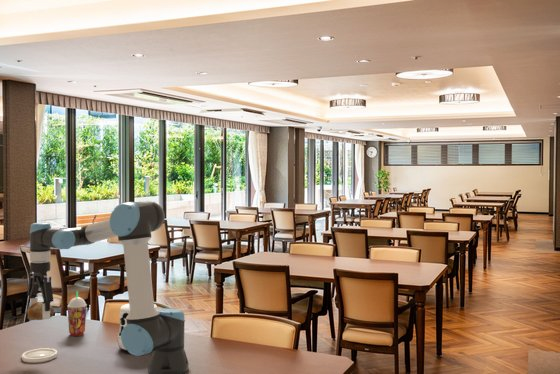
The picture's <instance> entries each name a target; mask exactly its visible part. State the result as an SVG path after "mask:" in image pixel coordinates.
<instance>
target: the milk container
mask: <svg viewBox="0 0 560 374" xmlns="http://www.w3.org/2000/svg"><path fill="white" fill-rule="evenodd" d="M154 308H155V309H158V305H157V304H155V303H154ZM129 313H130V306H129V303H125V304H123V305H121V307H120V308H119V330H118V333H117V339H116V340H117V344H118V345H117V346H118V347H119V349H121V350H122V351H124V352H128V350H126V349H125V347H124V346H123V343H122V340H121V332H122V330H123V328H124V327H125V326H126V325H127V321H126V317H127V316H128V314H129Z"/></svg>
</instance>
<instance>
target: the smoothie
mask: <svg viewBox="0 0 560 374" xmlns="http://www.w3.org/2000/svg"><path fill="white" fill-rule="evenodd" d="M75 294H76V296H75V297H72V298H71V299H70V300H69V302H68V304H67V318H68V319H67V320H68V333H69V335H70V336H71V337H80V336H83V335H84V333H85V331H86V321H87V320H86V319H87V305H88V304H87V303H86V301H85V299H83V297H80V296H79V291H78V290H77V291H76V293H75Z"/></svg>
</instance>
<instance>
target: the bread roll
mask: <svg viewBox="0 0 560 374" xmlns="http://www.w3.org/2000/svg"><path fill="white" fill-rule="evenodd" d="M42 302H43V301H38V302H37V303H34V304H32V305H31V306H30V305H29V307H27V308H26V309H27V310H26V311H25V316H26V318H27V319H28V320H30V321H44V320H43V304H42ZM54 315H55V310H54V308H53V306H52V305H51V304H50V319H51V318H52V317H53V316H54Z"/></svg>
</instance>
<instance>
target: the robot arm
mask: <svg viewBox="0 0 560 374" xmlns="http://www.w3.org/2000/svg"><path fill="white" fill-rule="evenodd" d="M165 215H166V214H165V211H164V209H163V208H162V206H161V205H160V204H159V203H157V202H155V201H151V200H147V201H128V202H123V203H120V204H118V205H116V206H115V207H114V209H113V210H112V212H111V213H110V216H109V219H105V220H102V221H101V220H100V221H98V222H94V223H91V224H87V225H84V226H79V227H70V228H68V227H67V228H59V229H57V228H51V223H49V222H34V223H31V224H30V227H29V228H30V229H29V261H30V263H29V272H30V273H29V274H28V275H29V276H28V277H29V281H28V285H27V295H26V296H28V297H29V300H30V301H29V303H30V304H29V307H30V306H31V305H32V304H34V303H37V302H39V300H38V297H39V295H38V292H39V290H40V292H41V296H42V301H41V302H42V304H43V320H42V321H44V320H49V319H51V318H50V305H51V303H52V302H54V293H53V286H52V276H48V272H50V271H51V262H50V261H51V255H52V252H51V249H57V250H69V249H71V248H72V247H77V246H79V247H80V246H89V245H93V244H95V243H96V242H99V241H105V240H108V239H112V238H115V237H117V238H118V239H117V241H118V242H119V244H121V245H122V247H123V255H124V265H125V274H126V275H125V276H126V285H127V294H128V295H127V296H128V304H129V306H130V313H129V314H128V316H127V317H126V321H127V325H126V326H125V327H124V328H123V330H122V332H121V340H122V343H123V346H124V347H125V349H126V350H128V351H127V352H128V353H129V354H131V355H134V356H135V357H136V356H137V357H139V356H143V355H149V354H150V353H151V357H150V359H149V362H148V365H147V372H148V373H149V374H185V373H187V372H188V371H189V369H190V368H189V359H188V357H187V353H186V350H185V322H186V320H185V312H183V311H182V310H181V309H176V308H157V309H155V308H154V304H155V302H154V301H155V300H154V292H153V291H154V289H153V283H152V282H153V281H152V273H151V272H152V271H151V270H152V269H151V261H150V252H149V241H150V240H151V239H152V232H155V231H157V230H159V229H160V228H161V227H162V226H163V224H164V223H165Z"/></svg>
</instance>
